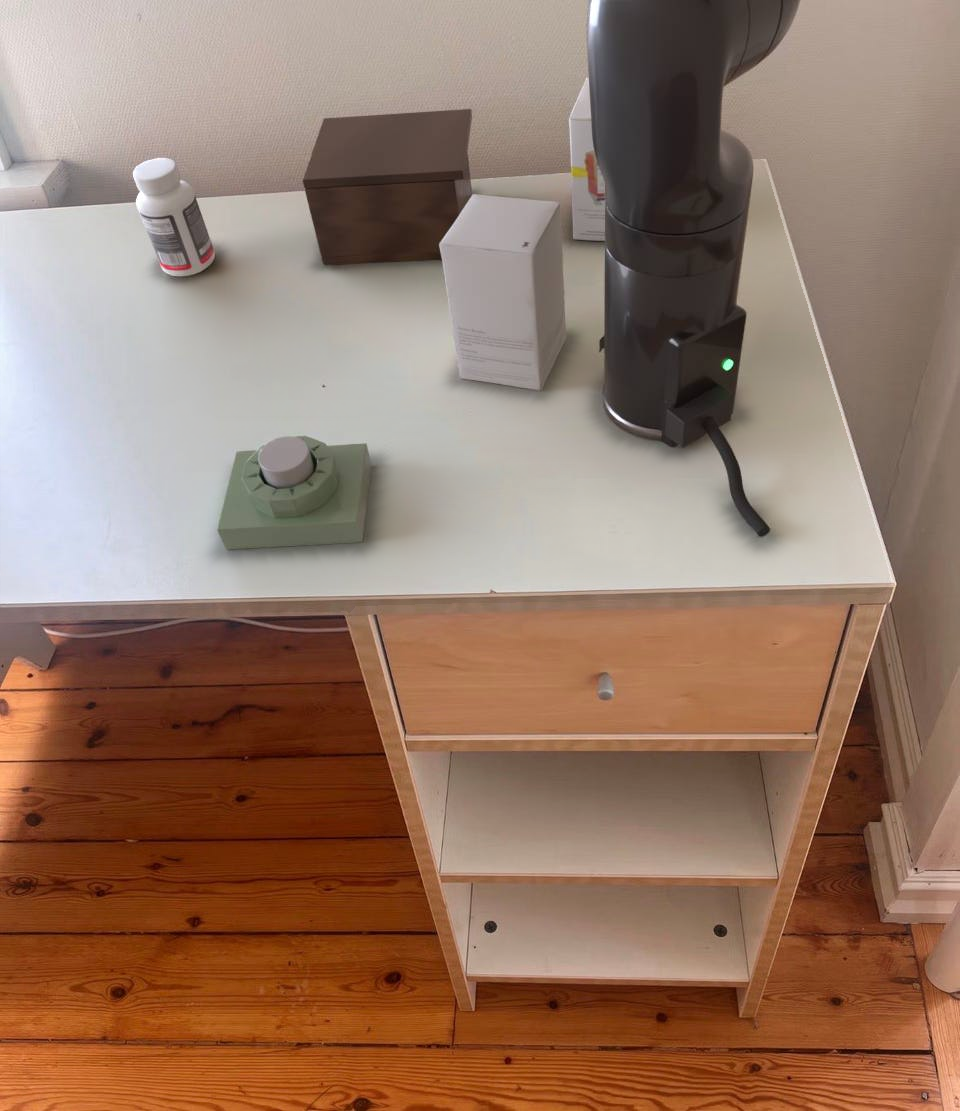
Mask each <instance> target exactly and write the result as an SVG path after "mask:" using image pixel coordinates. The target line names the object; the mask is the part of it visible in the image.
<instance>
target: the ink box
mask: <svg viewBox="0 0 960 1111" xmlns="http://www.w3.org/2000/svg"><path fill="white" fill-rule="evenodd" d="M568 125H569V147H570V149H569V150H570V170H571V171H570V172H571V176H570V177H571V206H572V209H571V211H572V213H571V214H572V239H573V240H582V241H595V242H596V241H597V242H598V241H599V242H605V182H604V179H603V176H602V173H601V170H600V168H599V165H598V162H597V159H596V156H595V152H594V147H593V140H592V125H591V108H590V91H589V76H586V78H585V81H584V83H583V84H582V88H581V89H580V92H579V94H578V97H577V99H576V101H575V103H574V105H573V108H572V110H571V113H570V115H569V117H568Z"/></svg>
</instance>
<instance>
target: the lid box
mask: <svg viewBox="0 0 960 1111" xmlns="http://www.w3.org/2000/svg"><path fill="white" fill-rule="evenodd" d="M304 193H305V196H306V201H307V205H308V209H309V212H310V216H311V221H312V224H313V229H314V232H315V233H314V234H315V237H316V242H317V245H318V250H319V254H320V257H321V262H322V265H323V266H331V265H352V264H353V265H355V264H372V263H374V264H376V263H396V262H415V261H416V262H417V261H436V260H442V257H441V251H440V246H439V243H440V242H441V241H442V239H443V238H444V236H445V235H446V234H447V232H448V231H449V229H450V228H451V227H452V225H453V224H454V222H455V221H456V219H457V218H458V216H459V214H460V213H461V211H462V210H463V208H464V207H465V205H466V204H467V202H468V201H469V199H470V198H471V196H472V195H473V189H472V179H471V171H470V161H469V152H468V150H467V158H466V165H465V172H464V179H461V180H444V181H426V182H408V183H391V184H373V185H355V186H338V187H320V188H304Z"/></svg>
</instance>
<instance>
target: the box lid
mask: <svg viewBox="0 0 960 1111" xmlns="http://www.w3.org/2000/svg"><path fill="white" fill-rule="evenodd" d="M472 121H473V112H472V108H463V109H462V108H461V109H449V110H447V109H446V110H433V111H418V112H417V111H416V112H401V113H400V112H399V113H385V114H370V115H355V116H341V117H325V118H323V120H322V122H321V125H320V129H319V131H318V134H317V137H316V140H315V142H314V145H313V148H312V152H311V153H310V157H309V159H308V161H307V162H308V163H307V165H306V168H305V171H304V173H303V174H304V175H303V177H302V185H303V188H304V189H305V188H320V187H338V186H355V185H373V184H391V183H408V182H426V181H444V180H461V179H464V172H465V165H466V158H467V151H468V150H469V143H470V136H471V128H472Z"/></svg>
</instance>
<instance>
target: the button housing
mask: <svg viewBox="0 0 960 1111" xmlns="http://www.w3.org/2000/svg"><path fill="white" fill-rule="evenodd" d="M294 437H297V438H300V439H302V440H303V441H304V442H306V444H307V445H308V448H309V451H310V454H311V457H312V461H313V464H314V470H313V473H312V475H311V476H310V478H309V479H308V480H307V481H305V482H304V483H302V484H299V485H297V486H295V487H293V488H283V489H280V488H275V487H273V486H271V485H269V484H268V483H267V482H266V480H265V478H264V475H263V473H262V470H261V467H260V464H259V461H258V456H259V453H260V451H261V449H262V448H263V447H264V446H265V445H266V444H264V445H261V446H260V447H259V448H258V449H255V450H240V451H239V450H237V451H235V457H234V460H233V464H232V468H231V472H230V477H229V480H228V485H227V488H226V492H225V497H224V499H223V500H224V501H223V505H222V508H221V512H220V517H219V520H218V524H217V529H216V531H217V532H218V535H219V537H220V540H221V543H222V544H223V546H224V548H225V550H245V549H261V548H263V549H264V548H281V547H298V546H300V547H301V546H317V545H319V546H320V545H335V544H336V545H337V544H351V543H352V544H356V543H363V540H364V533H365V522H366V515H367V514H366V513H367V506H368V497H369V489H370V480H371V473H372V472H371V471H372V460H371V456H370V452H369V448H368V444H367V443H364V442H363V443H350V444H348V443H347V444H333V445H331V444H330V445H327V444H326V442H324V441H320V440H318V439H315V438H313V437H310V436H307V435H297V436H294Z"/></svg>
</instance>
